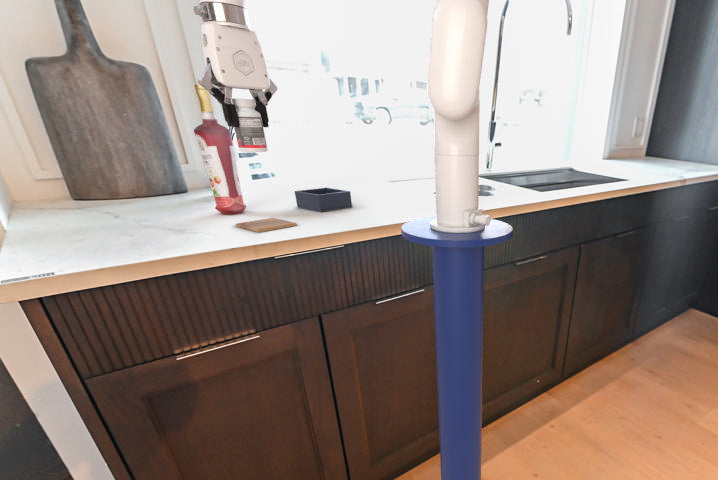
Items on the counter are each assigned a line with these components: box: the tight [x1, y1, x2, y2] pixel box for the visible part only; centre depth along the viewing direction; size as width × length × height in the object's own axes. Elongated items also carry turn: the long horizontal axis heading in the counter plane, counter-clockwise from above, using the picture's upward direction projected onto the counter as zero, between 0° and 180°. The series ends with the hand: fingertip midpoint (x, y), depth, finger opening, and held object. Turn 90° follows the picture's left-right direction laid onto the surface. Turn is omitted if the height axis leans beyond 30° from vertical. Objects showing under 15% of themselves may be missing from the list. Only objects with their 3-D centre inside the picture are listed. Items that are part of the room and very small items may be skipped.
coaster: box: [234, 217, 298, 233], centre depth 96 cm, size 9×9×1 cm
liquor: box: [193, 84, 248, 215], centre depth 101 cm, size 7×7×28 cm
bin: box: [294, 187, 353, 213], centre depth 117 cm, size 10×10×4 cm
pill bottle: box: [231, 97, 269, 153], centre depth 88 cm, size 5×5×10 cm
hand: (248, 125), depth 88 cm, fingers closed on pill bottle, 5 cm apart
